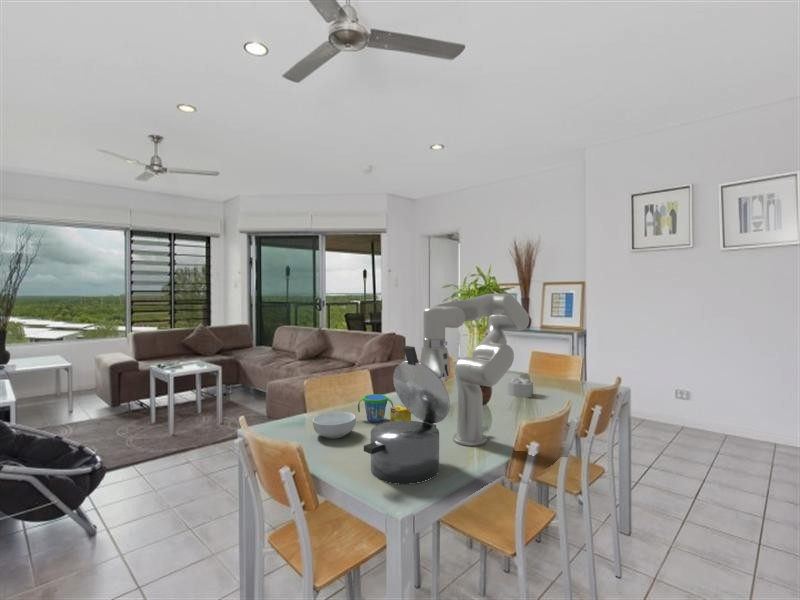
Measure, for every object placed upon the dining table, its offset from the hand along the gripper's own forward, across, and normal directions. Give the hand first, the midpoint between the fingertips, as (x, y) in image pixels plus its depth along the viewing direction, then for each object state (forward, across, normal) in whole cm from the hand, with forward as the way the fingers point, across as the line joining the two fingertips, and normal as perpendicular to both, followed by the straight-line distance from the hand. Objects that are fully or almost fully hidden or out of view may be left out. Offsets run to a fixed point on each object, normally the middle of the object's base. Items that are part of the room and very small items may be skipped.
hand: (434, 396), depth 145 cm
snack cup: (+21, +43, -12) cm, 49 cm away
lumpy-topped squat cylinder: (+20, +18, -95) cm, 99 cm away
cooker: (+21, 0, +16) cm, 26 cm away
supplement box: (+21, +22, -6) cm, 31 cm away
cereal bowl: (+21, +41, +12) cm, 48 cm away
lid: (-5, 0, +9) cm, 10 cm away
